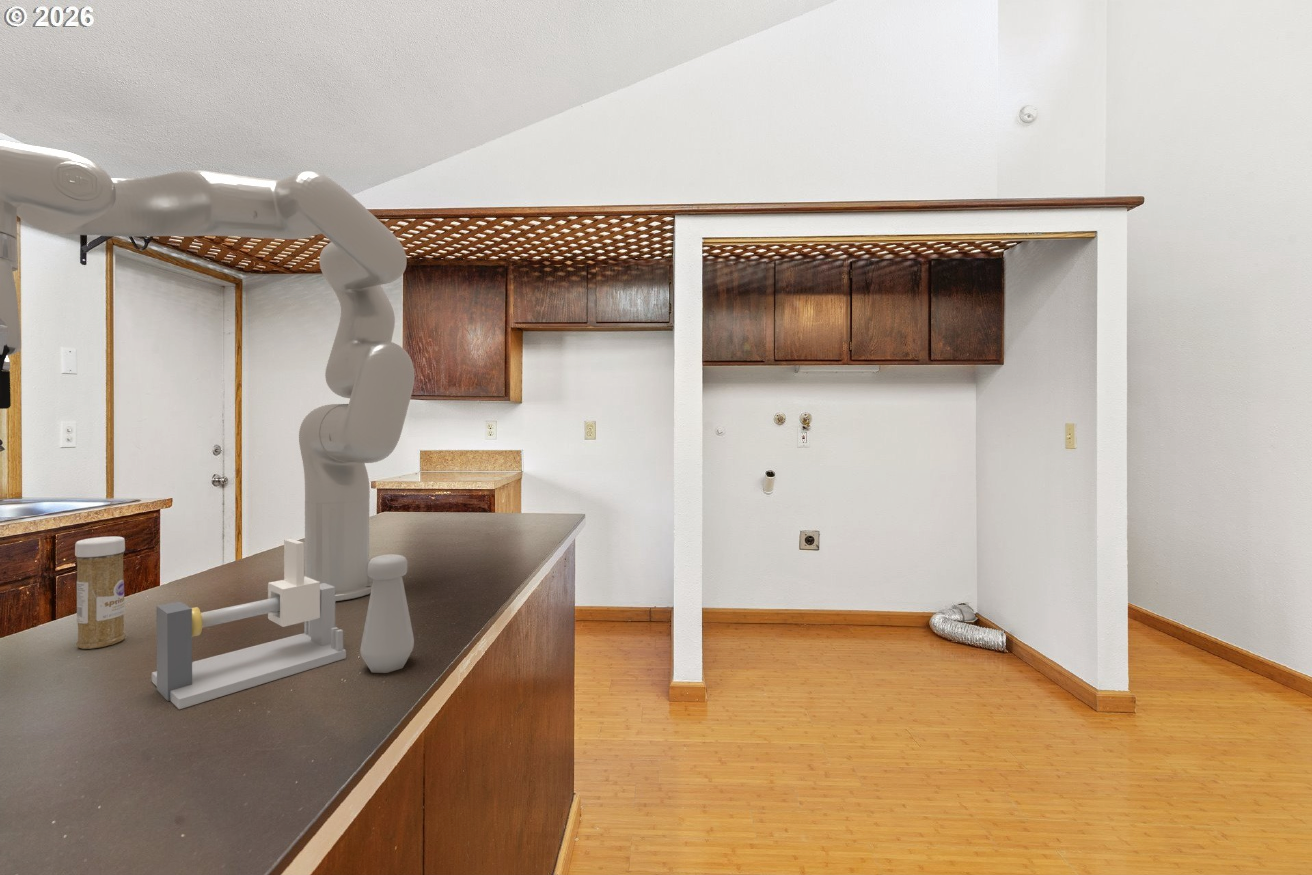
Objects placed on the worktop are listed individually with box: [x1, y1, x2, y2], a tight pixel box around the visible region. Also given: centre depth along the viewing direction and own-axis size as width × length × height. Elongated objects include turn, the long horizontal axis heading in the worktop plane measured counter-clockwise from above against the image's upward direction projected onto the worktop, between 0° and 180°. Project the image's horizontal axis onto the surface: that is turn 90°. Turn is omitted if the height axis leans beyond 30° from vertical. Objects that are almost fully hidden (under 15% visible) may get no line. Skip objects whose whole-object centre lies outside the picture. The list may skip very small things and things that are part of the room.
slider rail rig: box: [151, 583, 347, 710], centre depth 66 cm, size 16×10×9 cm, turn 143°
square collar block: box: [267, 538, 320, 628], centre depth 69 cm, size 4×4×9 cm
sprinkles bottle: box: [74, 536, 126, 650], centre depth 73 cm, size 5×5×14 cm
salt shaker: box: [359, 553, 415, 674], centre depth 67 cm, size 6×6×13 cm
